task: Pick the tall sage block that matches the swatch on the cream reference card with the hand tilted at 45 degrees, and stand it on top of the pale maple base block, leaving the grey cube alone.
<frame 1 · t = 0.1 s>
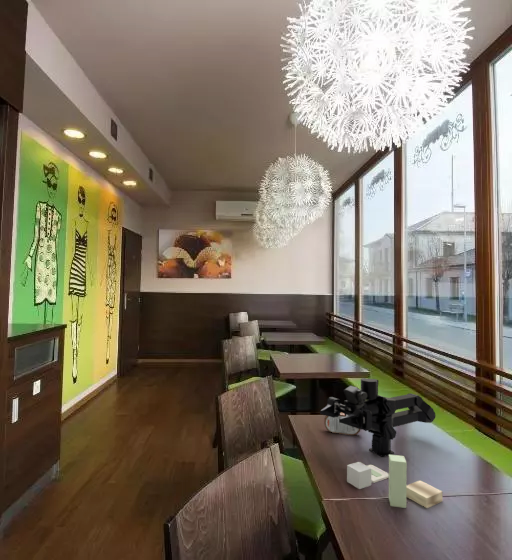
hand: (329, 416, 119), 17 cm above the table, tool horizontal, fingers open, 9 cm apart
reference card: (372, 474, 115), on the table
sage block: (397, 502, 99), on the table
grey cube: (359, 483, 109), on the table
maple base: (423, 499, 102), on the table
tin: (342, 434, 149), on the table
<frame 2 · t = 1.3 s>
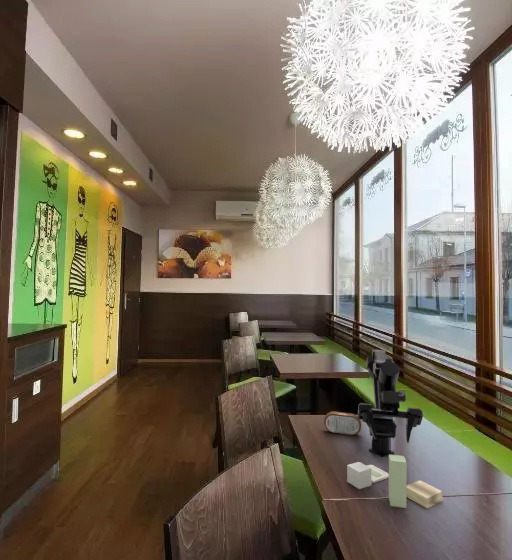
hand: (391, 440, 107), 14 cm above the table, tool tilted 45°, fingers open, 9 cm apart
nothing on the table moved.
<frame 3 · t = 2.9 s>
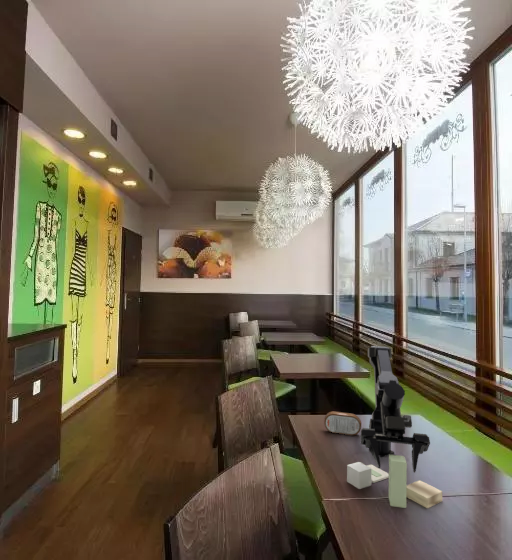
hand: (396, 469, 100), 9 cm above the table, tool tilted 45°, fingers open, 9 cm apart
nothing on the table moved.
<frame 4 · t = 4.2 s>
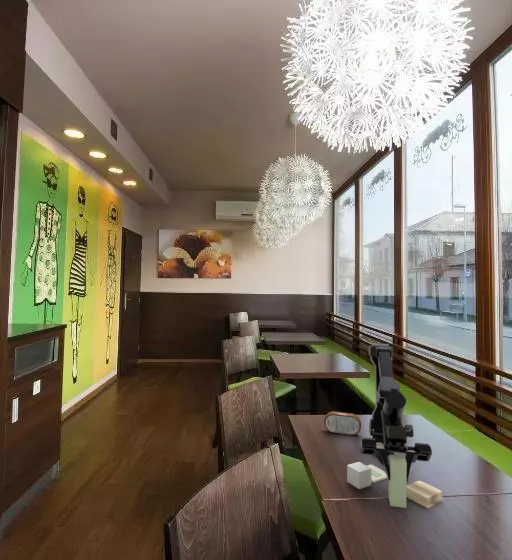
hand: (398, 480, 98), 7 cm above the table, tool tilted 45°, fingers closed on sage block, 4 cm apart
sage block: (397, 502, 99), on the table, touching gripper
everything else where it was.
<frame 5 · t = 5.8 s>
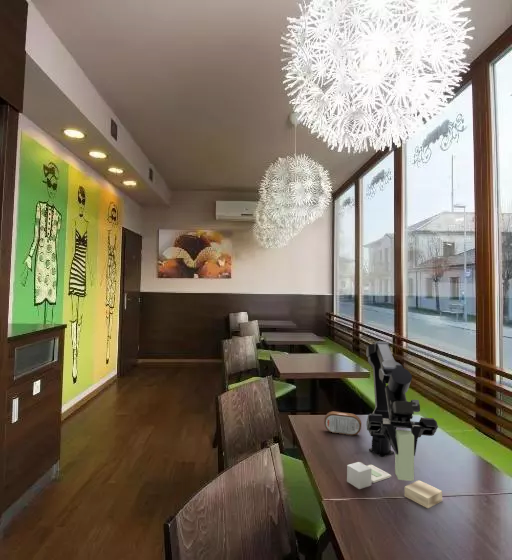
hand: (405, 454, 99), 13 cm above the table, tool tilted 45°, fingers closed on sage block, 4 cm apart
sage block: (404, 476, 100), point 7 cm above the table, touching gripper
everything else where it was.
when the fingers open (10 cm above the table, at t = 7.3 s): sage block drops 1 cm, resting on maple base.
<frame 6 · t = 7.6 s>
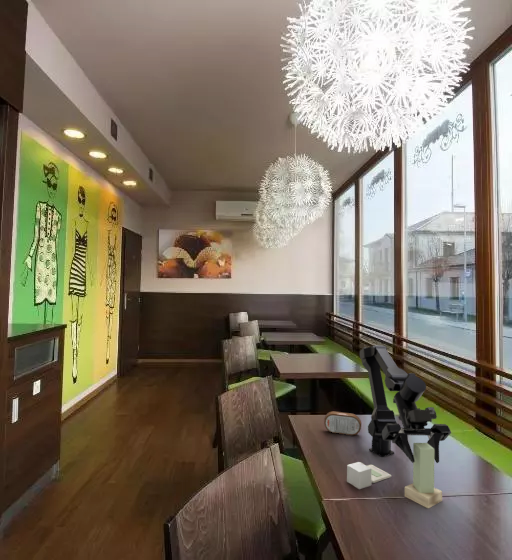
hand: (425, 462, 101), 11 cm above the table, tool tilted 45°, fingers open, 7 cm apart
sage block: (423, 488, 102), point 3 cm above the table, touching maple base
maple base: (423, 500, 102), on the table, touching sage block
everything else where it was.
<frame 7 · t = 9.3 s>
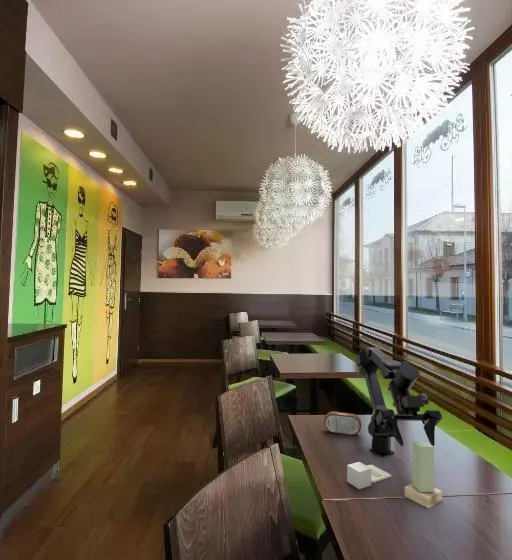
hand: (418, 445, 105), 13 cm above the table, tool tilted 45°, fingers open, 9 cm apart
sage block: (423, 488, 102), point 3 cm above the table
maple base: (423, 499, 102), on the table
everything else where it was.
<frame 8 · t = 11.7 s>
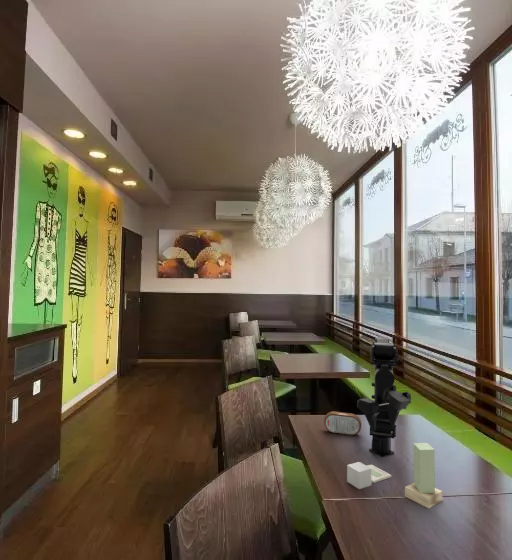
hand: (383, 428, 119), 13 cm above the table, tool pointing down, fingers open, 9 cm apart
sage block: (424, 488, 102), point 3 cm above the table, touching maple base
maple base: (423, 499, 102), on the table, touching sage block
everything else where it was.
at the end: sage block 0.3 cm off-centre on the maple base, point 3.2 cm above the maple base's base; sage block tilted 4°; the gripper is holding nothing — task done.
